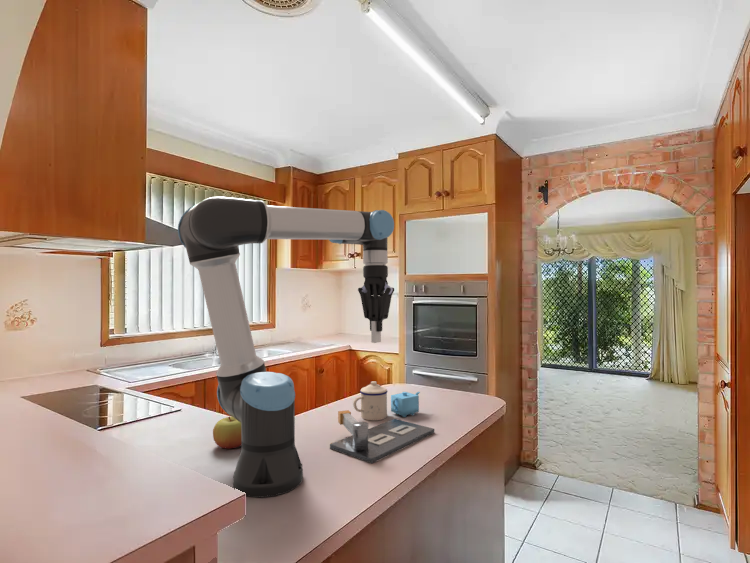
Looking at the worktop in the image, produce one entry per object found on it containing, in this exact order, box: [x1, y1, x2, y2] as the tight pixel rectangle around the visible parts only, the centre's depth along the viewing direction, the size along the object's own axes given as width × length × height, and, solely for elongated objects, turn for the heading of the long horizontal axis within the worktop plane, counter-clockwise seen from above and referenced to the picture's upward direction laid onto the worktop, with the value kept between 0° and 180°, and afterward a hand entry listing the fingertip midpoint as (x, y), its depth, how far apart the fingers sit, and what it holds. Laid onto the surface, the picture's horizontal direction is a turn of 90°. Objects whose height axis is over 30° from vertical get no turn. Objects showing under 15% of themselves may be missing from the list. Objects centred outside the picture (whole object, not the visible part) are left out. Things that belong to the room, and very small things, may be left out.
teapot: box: [390, 391, 421, 418], centre depth 145 cm, size 12×6×8 cm, turn 125°
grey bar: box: [337, 409, 369, 450], centre depth 118 cm, size 18×4×6 cm, turn 20°
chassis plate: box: [329, 418, 435, 464], centre depth 120 cm, size 28×15×2 cm, turn 139°
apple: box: [212, 415, 242, 450], centre depth 118 cm, size 10×10×8 cm
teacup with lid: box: [352, 381, 388, 421], centre depth 141 cm, size 12×9×12 cm
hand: (376, 342), depth 130 cm, fingers closed
